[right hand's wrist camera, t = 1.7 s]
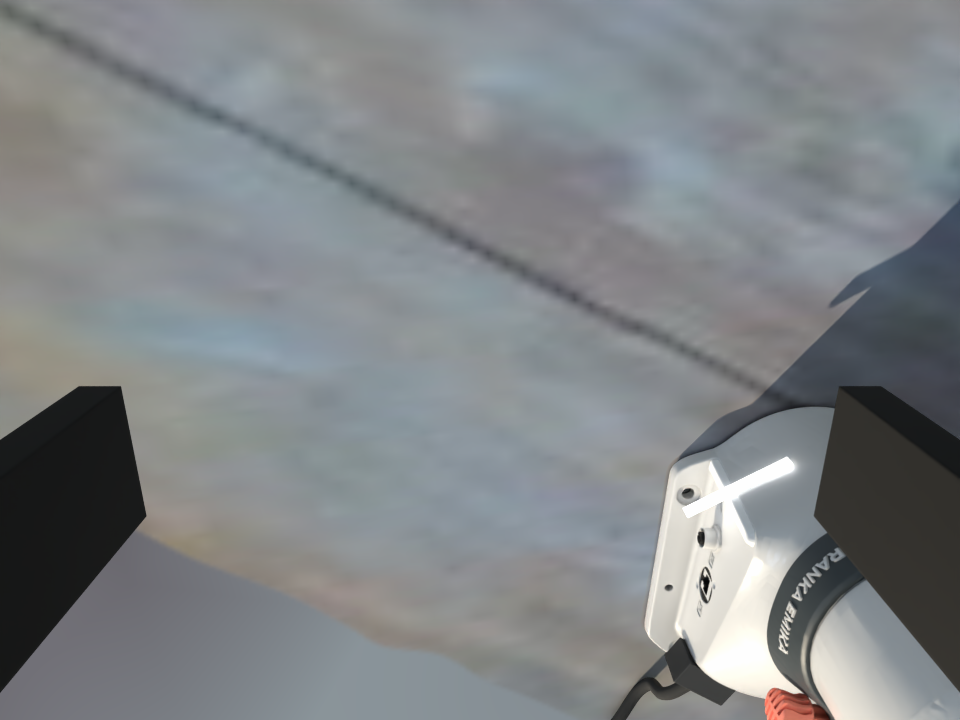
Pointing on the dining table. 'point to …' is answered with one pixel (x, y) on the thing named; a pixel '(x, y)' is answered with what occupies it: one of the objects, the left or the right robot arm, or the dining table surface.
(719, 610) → the left robot arm
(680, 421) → the dining table surface
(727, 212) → the dining table surface
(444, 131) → the dining table surface
